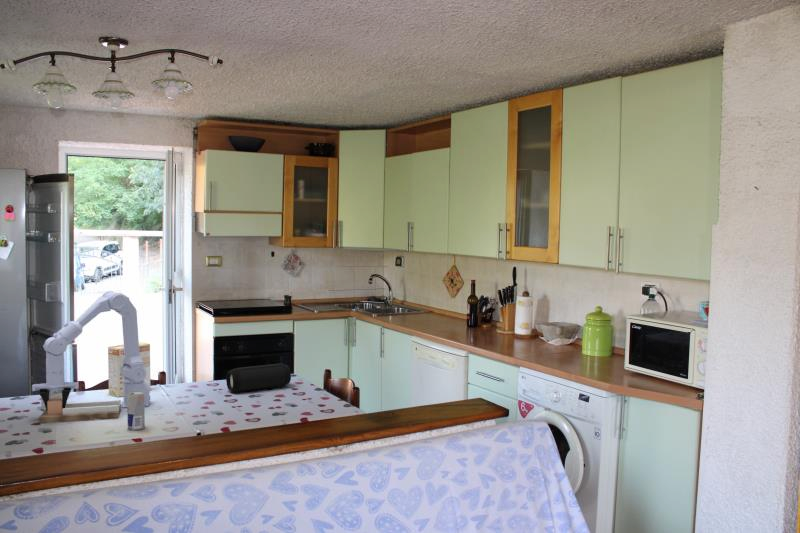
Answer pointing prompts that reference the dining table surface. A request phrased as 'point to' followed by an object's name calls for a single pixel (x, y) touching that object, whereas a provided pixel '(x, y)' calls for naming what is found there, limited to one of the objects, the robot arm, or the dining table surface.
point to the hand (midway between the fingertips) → (55, 409)
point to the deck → (77, 416)
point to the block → (55, 406)
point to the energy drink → (136, 410)
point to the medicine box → (52, 396)
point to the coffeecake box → (116, 364)
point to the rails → (91, 407)
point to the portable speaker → (258, 377)
